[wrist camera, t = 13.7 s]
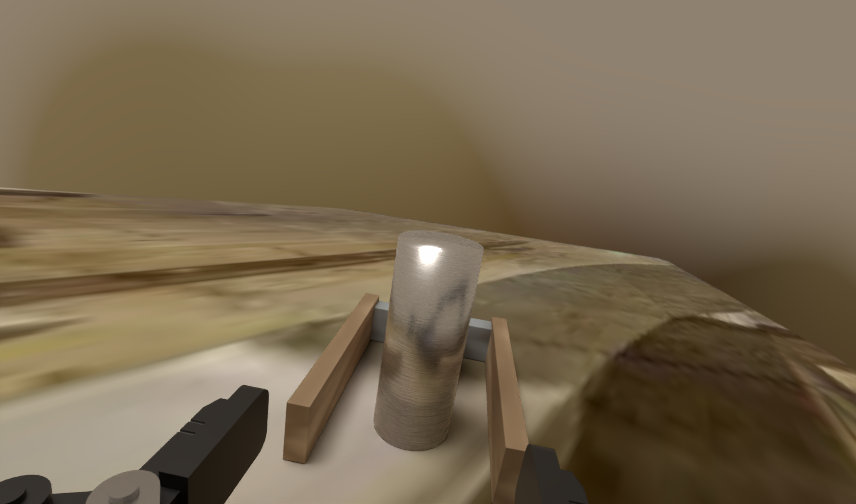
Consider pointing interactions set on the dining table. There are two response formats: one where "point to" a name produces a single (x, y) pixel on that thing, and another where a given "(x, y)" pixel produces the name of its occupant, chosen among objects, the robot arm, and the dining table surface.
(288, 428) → the channel
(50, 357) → the dining table surface
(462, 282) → the shaft
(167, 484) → the robot arm
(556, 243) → the dining table surface
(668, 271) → the dining table surface
